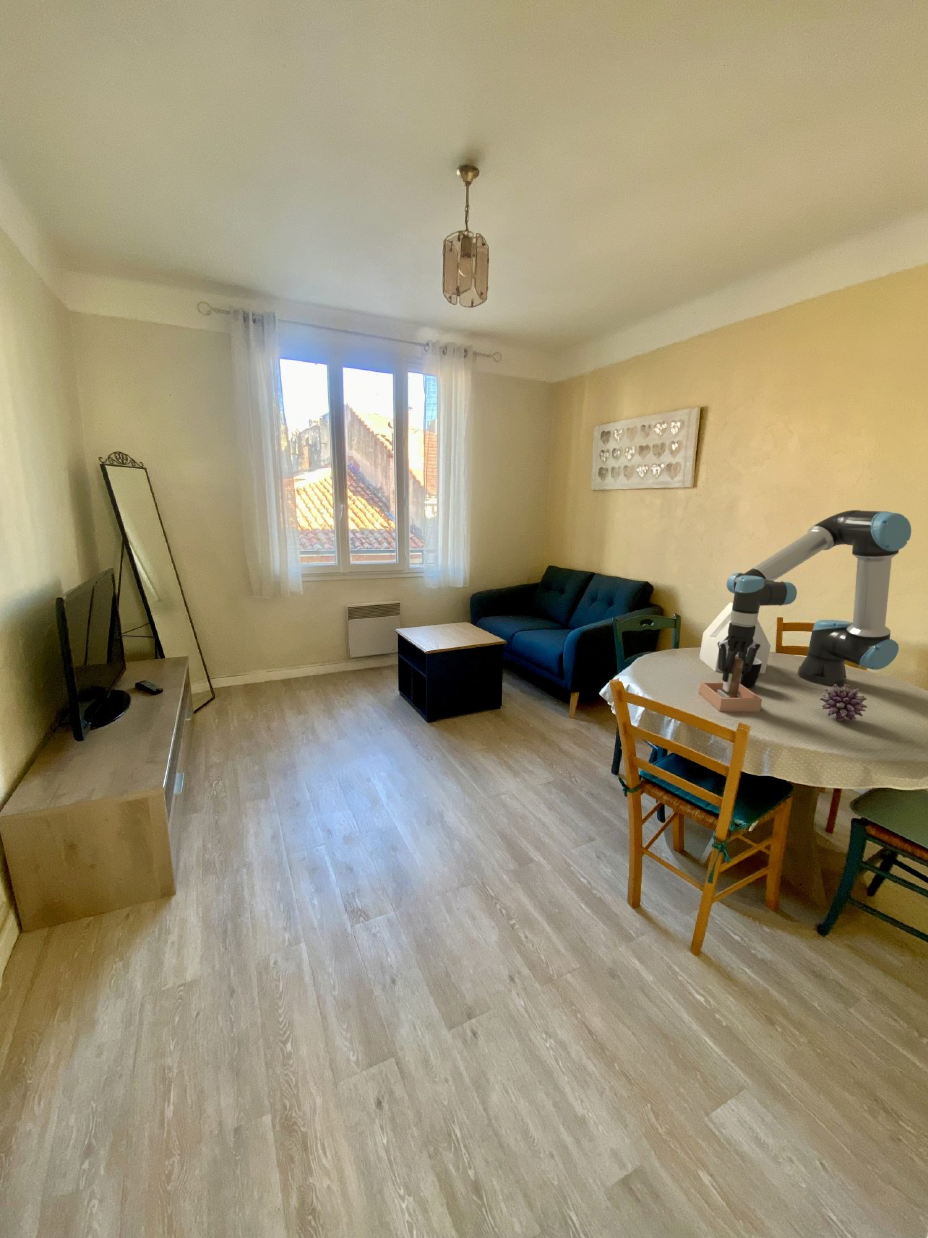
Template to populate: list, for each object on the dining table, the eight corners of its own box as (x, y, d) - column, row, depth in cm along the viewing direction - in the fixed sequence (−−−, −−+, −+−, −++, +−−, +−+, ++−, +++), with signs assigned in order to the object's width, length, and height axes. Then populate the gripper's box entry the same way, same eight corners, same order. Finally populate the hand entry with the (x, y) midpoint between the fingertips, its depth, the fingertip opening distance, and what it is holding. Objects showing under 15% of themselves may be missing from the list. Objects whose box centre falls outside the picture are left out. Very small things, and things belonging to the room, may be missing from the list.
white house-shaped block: (715, 671, 189) (725, 611, 182) (699, 658, 204) (708, 601, 197) (765, 673, 188) (777, 612, 181) (745, 660, 203) (756, 603, 196)
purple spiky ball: (848, 731, 144) (858, 695, 140) (807, 714, 154) (815, 680, 151) (871, 725, 148) (880, 689, 145) (829, 708, 159) (838, 675, 155)
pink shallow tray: (736, 694, 168) (738, 682, 167) (759, 711, 156) (762, 698, 154) (698, 693, 168) (700, 682, 167) (719, 711, 155) (721, 698, 154)
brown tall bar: (728, 694, 163) (736, 656, 160) (736, 700, 159) (743, 660, 155) (722, 694, 163) (729, 656, 160) (729, 699, 159) (736, 660, 155)
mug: (761, 691, 171) (766, 665, 169) (734, 689, 172) (739, 663, 170) (746, 678, 183) (751, 653, 180) (722, 676, 184) (726, 652, 181)
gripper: (758, 620, 158) (746, 686, 164) (713, 620, 158) (702, 685, 164) (773, 627, 151) (759, 695, 157) (725, 626, 150) (713, 694, 157)
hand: (730, 690), depth 161 cm, fingers closed on brown tall bar, 2 cm apart
